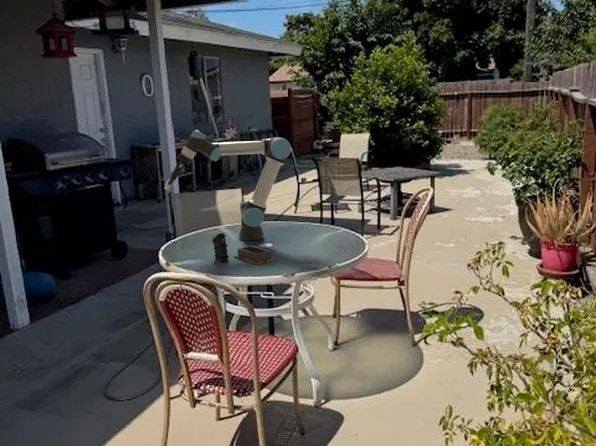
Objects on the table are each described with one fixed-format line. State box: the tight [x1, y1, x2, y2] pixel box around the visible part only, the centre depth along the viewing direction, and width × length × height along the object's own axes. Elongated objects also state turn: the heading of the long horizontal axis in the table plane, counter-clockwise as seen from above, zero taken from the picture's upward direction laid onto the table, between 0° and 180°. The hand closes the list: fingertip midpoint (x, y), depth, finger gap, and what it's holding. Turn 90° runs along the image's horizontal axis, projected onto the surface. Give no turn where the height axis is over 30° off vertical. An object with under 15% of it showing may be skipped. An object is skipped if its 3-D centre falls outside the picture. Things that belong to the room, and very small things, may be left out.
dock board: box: [233, 254, 277, 266], centre depth 294 cm, size 12×21×1 cm, turn 39°
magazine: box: [211, 232, 230, 264], centre depth 293 cm, size 4×13×15 cm, turn 30°
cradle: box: [237, 245, 272, 262], centre depth 294 cm, size 9×18×4 cm, turn 39°
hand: (166, 187), depth 313 cm, fingers open, 13 cm apart
